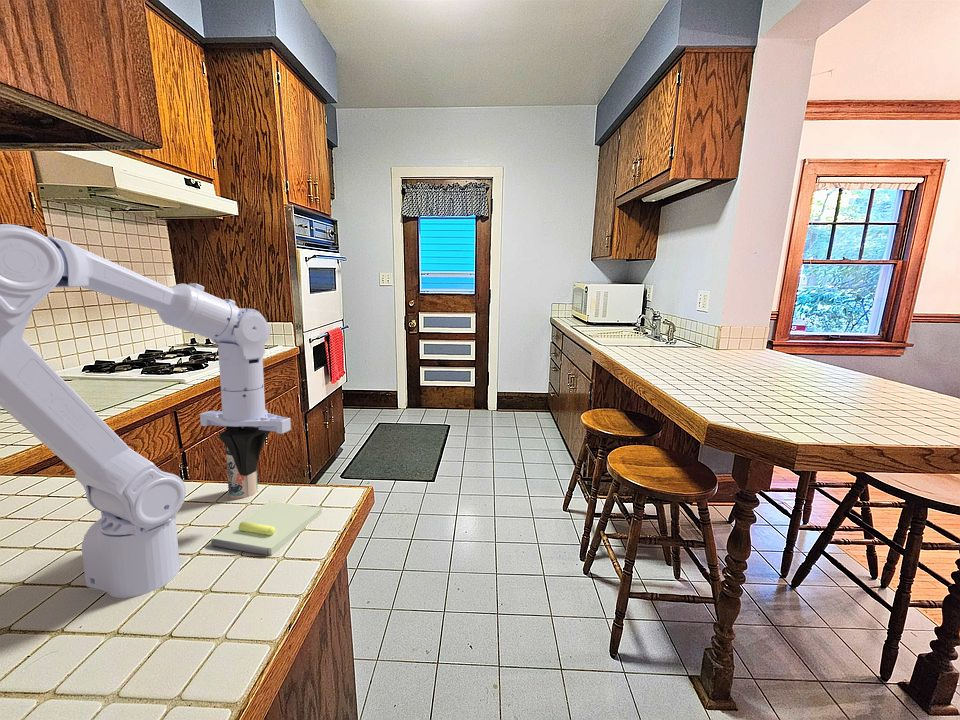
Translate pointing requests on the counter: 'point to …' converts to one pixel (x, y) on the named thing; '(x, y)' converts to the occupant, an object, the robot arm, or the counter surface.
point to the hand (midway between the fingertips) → (248, 473)
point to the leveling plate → (266, 528)
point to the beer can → (239, 480)
